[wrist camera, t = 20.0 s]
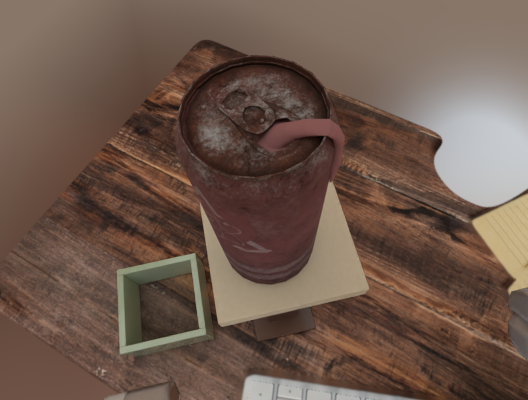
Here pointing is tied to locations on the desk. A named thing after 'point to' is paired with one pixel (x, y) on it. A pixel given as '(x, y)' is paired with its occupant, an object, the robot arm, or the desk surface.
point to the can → (260, 160)
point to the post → (284, 324)
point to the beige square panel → (298, 287)
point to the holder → (131, 305)
